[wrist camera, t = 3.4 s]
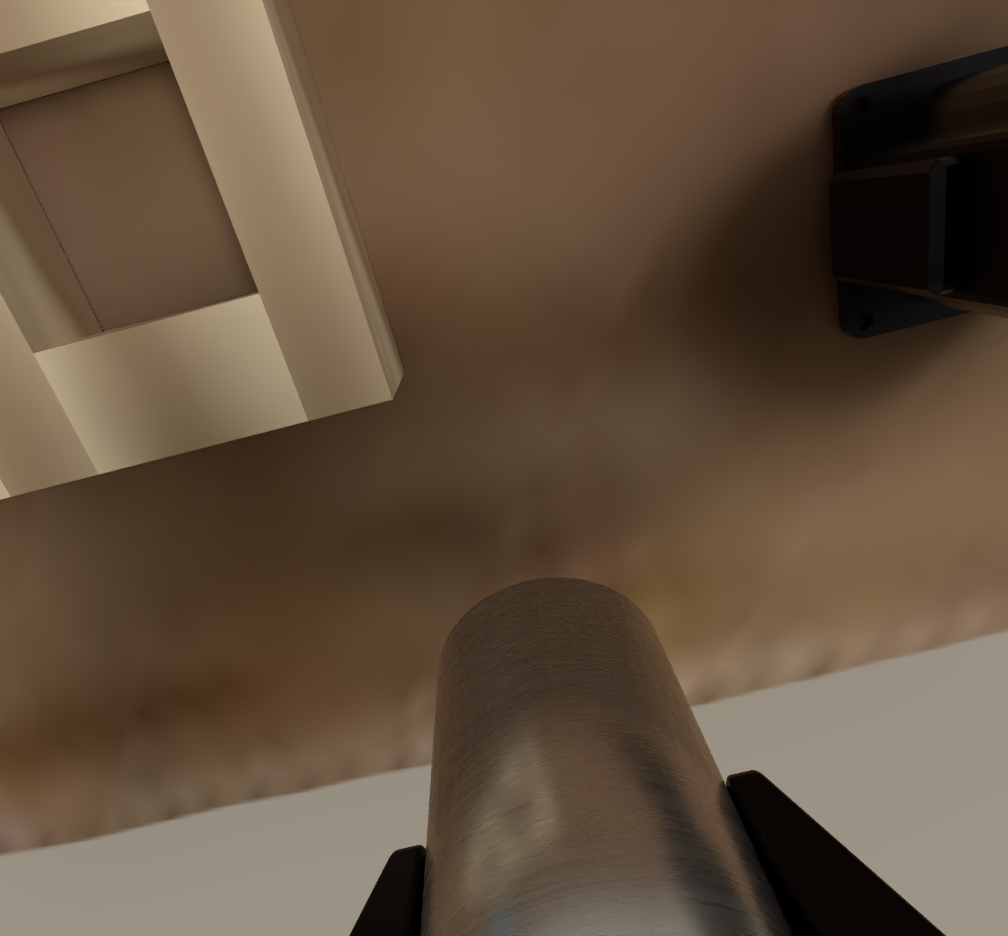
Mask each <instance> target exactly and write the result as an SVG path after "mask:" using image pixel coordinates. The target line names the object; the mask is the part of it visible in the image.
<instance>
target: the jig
mask: <svg viewBox="0 0 1008 936" xmlns="http://www.w3.org/2000/svg"><path fill="white" fill-rule="evenodd" d="M166 61H170V64H171V66H172V69H173V72H174V74H175V77H176V79H177V82H178V85H179V87H180V90H181V92H182V95H183V97H184V100H185V103H186V105H187V108H188V110H189V113H190V116H191V118H192V121H193V123H194V126H195V129H196V131H197V134H198V136H199V139H200V142H201V144H202V147H203V149H204V152H205V154H206V157H207V160H208V162H209V165H210V167H211V170H212V173H213V175H214V178H215V180H216V183H217V186H218V188H219V191H220V193H221V196H222V198H223V201H224V204H225V206H226V209H227V211H228V214H229V217H230V219H231V222H232V224H233V227H234V230H235V232H236V235H237V237H238V240H239V243H240V245H241V248H242V250H243V253H244V255H245V258H246V261H247V263H248V266H249V268H250V271H251V274H252V276H253V279H254V281H255V284H256V287H257V289H258V291H256V292H252V293H248V294H245V295H241V296H237V297H233V298H230V299H226V300H222V301H218V302H215V303H211V304H207V305H203V306H199V307H196V308H192V309H188V310H184V311H181V312H177V313H173V314H169V315H165V316H162V317H158V318H154V319H150V320H147V321H143V322H139V323H135V324H132V325H128V326H124V327H120V328H116V329H113V330H109V331H105V332H103V331H102V329H101V327H100V325H99V323H98V321H97V318H96V316H95V314H94V312H93V310H92V308H91V306H90V304H89V302H88V300H87V298H86V296H85V294H84V292H83V290H82V288H81V286H80V284H79V282H78V280H77V278H76V276H75V274H74V272H73V270H72V268H71V266H70V264H69V262H68V260H67V257H66V255H65V253H64V251H63V249H62V247H61V245H60V243H59V241H58V239H57V237H56V235H55V233H54V231H53V229H52V227H51V225H50V223H49V221H48V219H47V217H46V215H45V213H44V211H43V209H42V207H41V205H40V203H39V201H38V198H37V196H36V194H35V192H34V190H33V188H32V186H31V184H30V182H29V180H28V178H27V176H26V174H25V172H24V170H23V168H22V166H21V164H20V162H19V160H18V158H17V156H16V154H15V152H14V150H13V148H12V146H11V144H10V142H9V140H8V137H7V135H6V133H5V131H4V129H3V127H2V125H1V123H0V499H4V498H8V497H12V496H16V495H20V494H24V493H28V492H32V491H36V490H40V489H44V488H48V487H51V486H55V485H59V484H63V483H67V482H71V481H75V480H79V479H83V478H87V477H91V476H95V475H99V474H103V473H106V472H110V471H114V470H118V469H122V468H126V467H130V466H134V465H138V464H142V463H146V462H150V461H154V460H158V459H161V458H165V457H169V456H173V455H177V454H181V453H185V452H189V451H193V450H197V449H201V448H205V447H209V446H212V445H216V444H220V443H224V442H228V441H232V440H236V439H240V438H244V437H248V436H252V435H256V434H260V433H264V432H267V431H271V430H275V429H279V428H283V427H287V426H291V425H295V424H299V423H303V422H307V421H311V420H315V419H318V418H322V417H326V416H330V415H334V414H338V413H342V412H346V411H350V410H354V409H358V408H362V407H366V406H370V405H373V404H377V403H381V402H385V401H389V400H393V398H394V395H395V393H396V391H397V388H398V386H399V384H400V381H401V379H402V377H403V374H404V369H403V366H402V363H401V360H400V356H399V353H398V350H397V347H396V344H395V341H394V337H393V334H392V331H391V328H390V325H389V321H388V318H387V315H386V312H385V309H384V305H383V302H382V299H381V296H380V293H379V289H378V286H377V283H376V280H375V277H374V273H373V270H372V267H371V264H370V261H369V258H368V254H367V251H366V248H365V245H364V242H363V238H362V235H361V232H360V229H359V226H358V222H357V219H356V216H355V213H354V210H353V206H352V203H351V200H350V197H349V194H348V190H347V187H346V184H345V181H344V178H343V175H342V171H341V168H340V165H339V162H338V159H337V155H336V152H335V149H334V146H333V143H332V139H331V136H330V133H329V130H328V127H327V123H326V120H325V117H324V114H323V111H322V107H321V104H320V101H319V98H318V95H317V92H316V88H315V85H314V82H313V79H312V76H311V72H310V69H309V66H308V63H307V60H306V56H305V53H304V50H303V47H302V44H301V40H300V37H299V34H298V31H297V28H296V24H295V21H294V18H293V15H292V12H291V9H290V5H289V2H288V0H0V108H4V107H8V106H11V105H15V104H18V103H22V102H25V101H29V100H32V99H36V98H39V97H43V96H46V95H50V94H53V93H57V92H60V91H64V90H67V89H71V88H74V87H78V86H81V85H85V84H88V83H92V82H96V81H99V80H103V79H106V78H110V77H113V76H117V75H120V74H124V73H127V72H131V71H134V70H138V69H141V68H145V67H148V66H152V65H155V64H159V63H162V62H166Z"/></svg>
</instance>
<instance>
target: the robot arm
mask: <svg viewBox="0 0 1008 936" xmlns="http://www.w3.org/2000/svg"><path fill="white" fill-rule="evenodd" d="M855 99H856V100H857V101H859V102H860V105H861V111H860V114H859V116H858V117H857V119H855V118H854V117H852V116H851V112H850V108H851V104H852V103H853V101H854V100H855ZM832 126H833V153H834V177H833V179H832V181H831V182H830V184H829V194H830V219H831V245H832V270H833V275H834V276H835V277H836V278H838V292H839V319H840V327H841V330H842V331H843V332H844V333H845V334H847V335H849V336H852V337H855V338H858V339H859V338H868V337H872V336H876V335H880V334H884V333H888V332H892V331H896V330H900V329H904V328H908V327H912V326H916V325H919V324H923V323H927V322H931V321H935V320H939V319H943V318H947V317H951V316H955V315H959V314H963V313H967V312H971V311H972V312H978V313H983V314H988V315H994V316H999V317H1005V318H1008V46H1006V47H1002V48H998V49H994V50H991V51H987V52H983V53H979V54H976V55H972V56H968V57H965V58H961V59H957V60H953V61H950V62H946V63H942V64H938V65H935V66H931V67H927V68H924V69H920V70H916V71H912V72H909V73H905V74H901V75H897V76H894V77H890V78H886V79H883V80H879V81H875V82H871V83H868V84H864V85H860V86H857V87H854V88H851V89H849V90H847V91H845V92H843V93H842V94H841V95H840V96H839V97H838V99H837V100H836V102H835V104H834V106H833V113H832ZM862 313H864V314H865V321H864V323H863V324H862V325H861V326H859V327H857V326H856V320H857V318H858V316H859V315H860V314H862ZM726 785H727V789H728V791H729V794H730V796H731V798H732V800H733V802H734V804H735V807H736V809H737V811H738V813H739V815H740V818H741V820H742V822H743V824H744V826H745V829H746V831H747V833H748V835H749V837H750V840H751V842H752V844H753V846H754V848H755V850H756V853H757V855H758V857H759V859H760V861H761V864H762V866H763V868H764V870H765V872H766V875H767V877H768V879H769V881H770V883H771V886H772V888H773V890H774V892H775V894H776V897H777V899H778V901H779V903H780V905H781V907H782V910H783V912H784V914H785V916H786V918H787V921H788V923H789V925H790V927H791V929H792V932H793V934H794V936H946V935H944V934H943V933H942V932H941V931H940V930H939V929H938V928H936V927H935V926H934V925H933V924H932V923H931V922H930V921H929V920H927V919H926V918H925V917H924V916H923V915H922V914H921V913H920V912H918V911H917V910H916V909H915V908H914V907H913V906H911V905H910V904H909V903H908V902H907V901H906V900H905V899H904V898H902V897H901V896H900V895H899V894H898V893H897V892H896V891H895V890H893V889H892V888H891V887H890V886H889V885H888V884H886V883H885V882H884V881H883V880H882V879H881V878H880V877H878V876H877V875H876V874H875V873H874V872H873V871H872V870H871V869H870V868H868V867H867V866H866V865H865V864H864V863H863V862H861V861H860V860H859V859H858V858H857V857H856V856H855V855H854V854H853V853H851V852H850V851H849V850H848V849H847V848H846V847H845V846H843V845H842V844H841V843H840V842H839V841H838V840H837V839H835V838H834V837H833V836H832V835H831V834H830V833H829V832H827V831H826V830H825V829H824V828H823V827H822V826H821V825H820V824H818V823H817V822H816V821H815V820H814V819H813V818H812V817H810V816H809V815H808V814H807V813H806V812H805V811H804V810H803V809H801V808H800V807H799V806H798V805H797V804H796V803H795V802H793V801H792V800H791V799H790V798H789V797H788V796H787V795H785V794H784V793H783V792H782V791H781V790H780V789H779V788H778V787H776V786H775V785H774V784H773V783H772V782H771V781H770V780H768V779H767V778H766V777H765V776H764V775H762V774H761V773H760V772H758V771H755V770H750V771H745V772H741V773H737V774H732V775H729V776H728V777H727V781H726ZM425 858H426V849H425V848H424V847H423V846H422V845H416V846H412V847H408V848H403V849H399V850H396V851H395V852H394V853H393V854H392V855H391V856H390V858H389V859H388V862H387V864H386V865H385V867H384V869H383V871H382V873H381V875H380V877H379V879H378V881H377V883H376V885H375V887H374V889H373V891H372V893H371V895H370V897H369V898H368V900H367V902H366V904H365V906H364V908H363V910H362V912H361V914H360V916H359V918H358V920H357V922H356V924H355V926H354V928H353V930H352V932H351V934H350V936H420V933H421V918H422V903H423V888H424V873H425Z"/></svg>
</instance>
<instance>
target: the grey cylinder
mask: <svg viewBox="0 0 1008 936" xmlns="http://www.w3.org/2000/svg"><path fill="white" fill-rule="evenodd" d="M426 844H427V845H426V858H425V873H424V888H423V903H422V918H421V933H420V936H794V934H793V932H792V929H791V927H790V925H789V923H788V921H787V918H786V916H785V914H784V912H783V910H782V907H781V905H780V903H779V901H778V899H777V897H776V894H775V892H774V890H773V888H772V886H771V883H770V881H769V879H768V877H767V875H766V872H765V870H764V868H763V866H762V864H761V861H760V859H759V857H758V855H757V853H756V850H755V848H754V846H753V844H752V842H751V840H750V837H749V835H748V833H747V831H746V829H745V826H744V824H743V822H742V820H741V818H740V815H739V813H738V811H737V809H736V807H735V804H734V802H733V800H732V798H731V796H730V794H729V791H728V789H727V787H726V785H725V783H724V781H723V778H722V776H721V774H720V772H719V769H718V767H717V765H716V763H715V761H714V758H713V756H712V754H711V752H710V750H709V747H708V745H707V743H706V741H705V739H704V737H703V734H702V732H701V730H700V728H699V726H698V723H697V721H696V719H695V717H694V715H693V712H692V710H691V708H690V706H689V704H688V701H687V699H686V697H685V695H684V693H683V690H682V688H681V686H680V684H679V682H678V680H677V677H676V675H675V673H674V671H673V669H672V666H671V664H670V662H669V660H668V658H667V655H666V653H665V651H664V649H663V647H662V644H661V642H660V640H659V638H658V636H657V633H656V631H655V629H654V627H653V625H652V624H651V622H650V621H649V619H648V618H647V616H646V615H645V614H644V613H643V612H642V611H641V610H640V608H639V607H638V606H637V605H635V604H634V603H633V602H632V601H630V600H629V599H628V598H626V597H625V596H623V595H622V594H620V593H618V592H617V591H615V590H612V589H610V588H608V587H606V586H603V585H600V584H597V583H594V582H590V581H586V580H580V579H574V578H543V579H536V580H531V581H525V582H522V583H519V584H515V585H512V586H509V587H507V588H505V589H502V590H500V591H498V592H496V593H494V594H492V595H490V596H489V597H487V598H485V599H483V600H482V601H481V602H479V603H478V604H477V605H475V606H474V607H473V608H471V609H470V610H469V611H468V612H467V613H466V614H465V615H464V616H463V617H462V618H461V619H460V620H459V622H458V623H457V624H456V626H455V627H454V628H453V629H452V631H451V633H450V635H449V636H448V638H447V640H446V642H445V644H444V647H443V649H442V652H441V656H440V660H439V665H438V679H437V694H436V709H435V724H434V739H433V754H432V769H431V784H430V800H429V814H428V828H427V843H426Z"/></svg>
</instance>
